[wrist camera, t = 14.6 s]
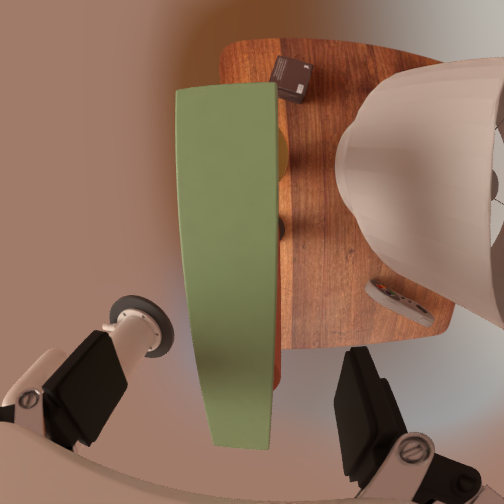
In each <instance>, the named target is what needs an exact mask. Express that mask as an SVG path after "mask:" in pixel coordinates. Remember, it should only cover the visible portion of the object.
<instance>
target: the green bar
mask: <svg viewBox="0 0 504 504" xmlns="http://www.w3.org/2000/svg"><path fill="white" fill-rule="evenodd" d="M175 113H176V114H175V115H176V117H175V119H176V120H175V122H176V123H175V125H176V126H175V127H176V128H175V135H176V136H175V137H176V177H177V197H178V215H179V228H180V240H181V252H182V261H183V262H182V263H183V272H184V281H185V290H186V297H187V305H188V313H189V319H190V327H191V334H192V340H193V347H194V352H195V358H196V364H197V370H198V375H199V381H200V386H201V391H202V396H203V401H204V405H205V411H206V415H207V420H208V424H209V428H210V432H211V437H212V441H213V444H214V445H215V446H222V447H232V448H244V449H258V450H268V449H269V444H270V430H271V415H272V398H273V381H274V361H275V338H276V310H277V275H278V204H279V167H278V99H277V84H276V83H275V82H254V83H234V84H220V85H210V86H201V87H193V88H186V89H179V90H177V91H176V112H175Z"/></svg>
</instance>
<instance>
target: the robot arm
mask: <svg viewBox="0 0 504 504" xmlns="http://www.w3.org/2000/svg"><path fill="white" fill-rule="evenodd" d="M103 329H104V330H107V331H112V333H110V334H108V333H107V332H103V331H98V330H94V331H93V332H92V333H91V334H90V335H89V336H88V337H87V338H86V339H85V340H84V341H83V342H82V343H81V344H80V345H79V346H78V347H77V349H76V350H75V351H74V352H73V353H72V354H71V355H70V356H68V355H67V354H66V353H65V352H64V351H63V350H62V349H60V348H57V347H53V348H50V349H49V350H47V351H46V352H45V353H44V354H43V355H42V356H40V357H39V358H38V360H37V361H36V362H35V363H34V364H33V365H32V366H31V367H30V368H29V369H28V370H27V371H26V372H25V373H24V374H23V376H21V378H20V379H19V380H18V381H17V382H16V383H15V384H14V385H13V387H12V388H11V389H10V390H9V391H8V393H7V394H6V396H5V398H4V400H3V403H2V407H0V504H504V498H503V497H502V496H501V495H499V494H498V493H497V492H496V491H494V490H493V489H492V488H490V487H489V486H488V485H486V486H482V485H481V483H482V482H481V476H480V473H479V472H478V471H477V470H476V469H474V468H472V467H470V466H467V465H464V464H461V463H459V462H456V461H454V460H451V459H448V458H446V457H444V456H441V455H439V454H436V453H434V452H435V447H434V443H433V442H432V440H431V439H430V438H429V437H428V436H427V435H424V434H423V433H419V432H410V433H408V432H407V429H406V426H405V423H404V421H403V418H402V416H401V413H400V411H399V408H398V405H397V402H396V400H395V397H394V395H393V392H392V390H391V388H390V385H389V383H388V381H387V379H385V378H380V377H379V375H378V372H377V370H376V367H375V365H374V362H373V360H372V358H371V355H370V353H369V350H368V348H367V347H366V346H362V347H351V349H350V351H346V353H345V357H344V361H343V365H342V370H341V374H340V378H339V382H338V386H337V390H336V394H335V397H334V410H335V415H336V422H337V428H338V434H339V441H340V447H341V454H342V461H343V469H344V474H345V476H349V478H350V482H354V481H358V485H359V487H360V488H361V489H360V491H359V492H358V493H357V494H356V496H355V497H354V498H348V499H336V500H319V501H296V502H280V501H279V502H278V501H277V502H276V501H252V500H240V499H239V500H238V499H230V498H222V497H214V496H208V495H202V494H196V493H191V492H186V491H182V490H177V489H173V488H168V487H165V486H161V485H157V484H154V483H150V482H147V481H144V480H140V479H137V478H134V477H131V476H128V475H125V474H122V473H120V472H117V471H114V470H112V469H109V468H107V467H104V466H102V465H100V464H97V463H95V462H93V461H90V460H88V459H86V458H84V457H82V456H80V453H81V451H82V448H83V446H84V445H86V446H88V447H90V445H91V443H92V442H94V441H96V439H97V438H98V436H99V434H100V432H101V431H102V429H103V428H104V427H105V426H106V425H107V424H108V423H109V421H110V420H111V418H112V415H113V412H114V410H115V407H116V406H117V404H118V402H119V401H120V399H121V397H122V396H123V394H124V392H125V391H126V389H127V385H128V381H129V379H130V378H131V376H132V375H133V373H134V371H135V370H136V369H137V367H138V365H139V364H140V362H141V361H142V359H143V357H144V356H145V355H146V353H147V352H148V351H152V350H155V349H156V348H157V347H158V346H159V344H160V343H161V339H162V335H161V330H160V328H159V326H158V324H157V323H156V321H155V320H154V319H153V318H152V317H151V316H150V315H148V314H147V313H145V312H144V311H142V310H139V309H135V308H129V309H126V310H124V311H123V312H121V314H120V315H119V316H118V319H117V323H116V324H115V323H114V324H109V323H104V324H103ZM42 391H44V393H43V394H42Z"/></svg>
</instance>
